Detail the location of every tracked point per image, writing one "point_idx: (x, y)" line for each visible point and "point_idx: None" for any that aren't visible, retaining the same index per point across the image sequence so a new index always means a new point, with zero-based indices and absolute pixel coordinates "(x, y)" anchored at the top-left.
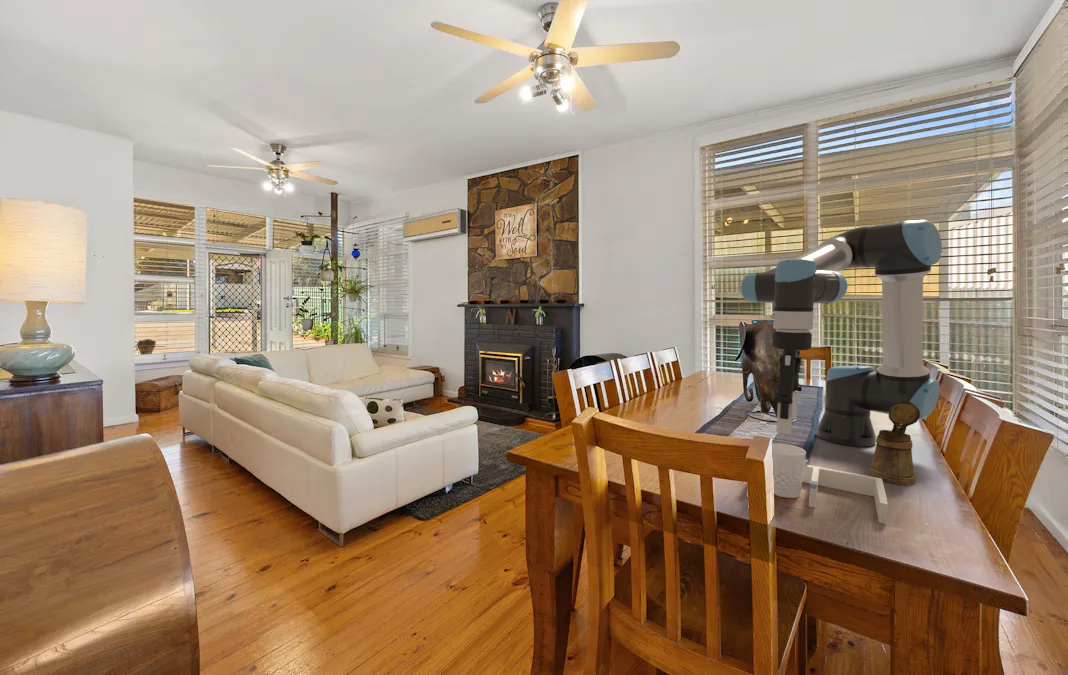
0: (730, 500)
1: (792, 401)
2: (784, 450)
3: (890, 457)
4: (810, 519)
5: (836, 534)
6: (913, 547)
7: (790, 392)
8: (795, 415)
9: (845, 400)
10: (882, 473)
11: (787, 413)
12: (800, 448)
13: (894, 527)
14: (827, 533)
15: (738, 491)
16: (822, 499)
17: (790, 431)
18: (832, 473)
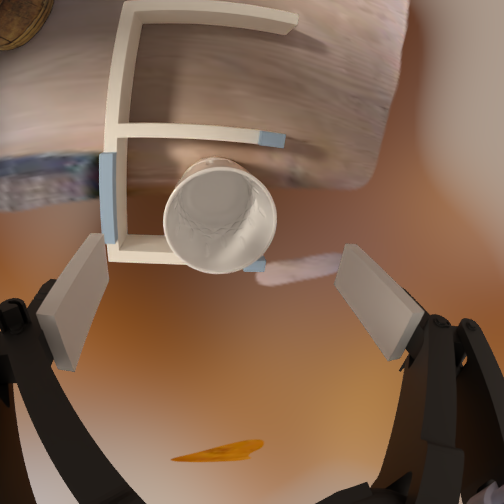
0: (304, 269)
1: (443, 319)
2: (171, 221)
3: (17, 2)
4: (327, 145)
5: (364, 115)
6: (354, 20)
7: (486, 350)
8: (98, 246)
9: None
10: (35, 20)
11: (413, 299)
12: (185, 183)
13: None
14: (366, 128)
15: None
16: (214, 114)
17: (361, 250)
18: (122, 94)
